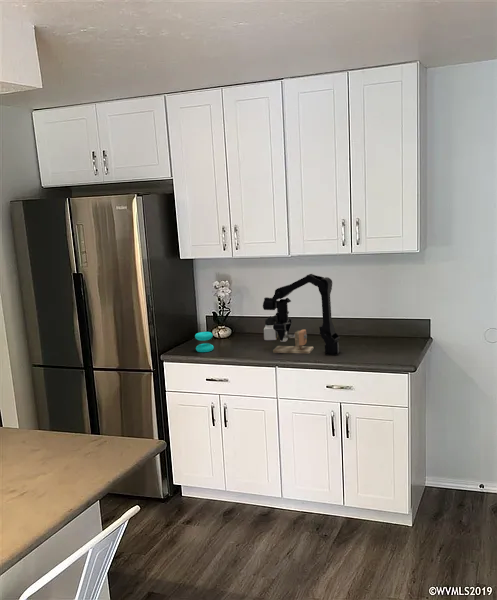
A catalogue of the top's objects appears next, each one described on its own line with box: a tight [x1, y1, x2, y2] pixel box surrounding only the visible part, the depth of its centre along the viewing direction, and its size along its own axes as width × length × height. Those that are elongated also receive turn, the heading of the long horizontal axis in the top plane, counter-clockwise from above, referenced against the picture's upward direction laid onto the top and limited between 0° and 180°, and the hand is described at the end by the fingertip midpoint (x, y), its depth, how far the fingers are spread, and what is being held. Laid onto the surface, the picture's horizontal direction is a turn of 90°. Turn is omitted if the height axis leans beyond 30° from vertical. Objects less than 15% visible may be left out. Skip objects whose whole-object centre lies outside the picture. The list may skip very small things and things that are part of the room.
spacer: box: [299, 329, 308, 346], centre depth 324 cm, size 2×7×7 cm, turn 162°
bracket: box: [272, 330, 314, 355], centre depth 326 cm, size 20×10×10 cm, turn 72°
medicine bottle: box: [263, 318, 279, 341], centre depth 356 cm, size 7×7×12 cm
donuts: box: [194, 331, 215, 353], centre depth 338 cm, size 10×10×10 cm
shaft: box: [279, 331, 308, 342], centre depth 325 cm, size 14×4×5 cm, turn 72°
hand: (283, 338), depth 327 cm, fingers open, 9 cm apart
